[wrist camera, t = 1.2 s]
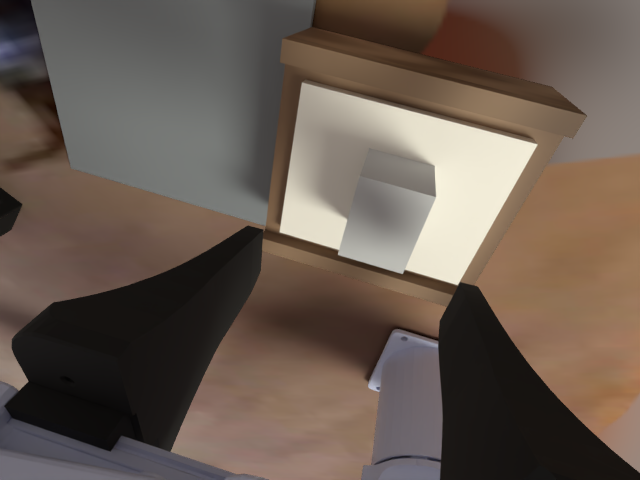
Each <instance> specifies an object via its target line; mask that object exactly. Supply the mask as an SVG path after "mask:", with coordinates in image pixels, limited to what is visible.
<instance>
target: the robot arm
mask: <svg viewBox="0 0 640 480" xmlns="http://www.w3.org/2000/svg"><path fill="white" fill-rule="evenodd" d="M262 244H263V229H259V228H255V227H251V226H246V227H245V228H243V229H241V230H240V231H238V232H237V233H235V234H233V235H232V236H230V237H229V238H227V239H226V240H224V241H222V242H221V243H219V244H218V245H216V246H214V247H213V248H211V249H209V250H208V251H206V252H204V253H202V254H201V255H199V256H197V257H195V258H193V259H191V260H189V261H187V262H186V263H184V264H182V265H180V266H177V267H175V268H173V269H171V270H168V271H166V272H164V273H161V274H159V275H156V276H154V277H151V278H148V279H145V280H142V281H139V282H136V283H134V284H131V285H128V286H124V287H121V288H117V289H114V290H110V291H106V292H103V293H99V294H94V295H90V296H85V297H80V298H75V299H70V300H65V301H60V302H54V303H52V304H51V305H50V306H48V307H47V308H46V309H45V310H44V311H42V312H41V313H40V314H39V315H38V316H37V317H35V318H34V319H33V320H32V321H31V322H30V323H28V324H27V325H26V326H25V327H24V328H23V329H21V330H20V331H19V332H18V333H17V334H16V335H15V336H14V337H13V338H12V350H13V353H14V355H15V357H16V359H17V361H18V363H19V364H20V366H21V368H22V370H23V372H24V373H25V375H26V377H27V379H28V381H29V382H28V383H27V384H26V385H25V386H24V387H23V388H22V389H21V390H20V391H18V390H17V389H16V388H15V387H13V386H12V385H9V384H7V383H5V382H2V381H0V480H268V479H265V478H262V477H257V476H253V475H248V474H234V473H231V472H228V471H225V470H223V469H220V468H217V467H214V466H211V465H208V464H205V463H202V462H199V461H196V460H193V459H190V458H187V457H184V456H181V455H178V454H175V453H172V452H170V451H171V449H172V447H173V444H174V442H175V439H176V437H177V435H178V432H179V430H180V427H181V425H182V423H183V420H184V418H185V416H186V414H187V411H188V409H189V407H190V405H191V402H192V400H193V398H194V396H195V393H196V391H197V389H198V387H199V385H200V383H201V380H202V378H203V376H204V374H205V372H206V370H207V368H208V366H209V364H210V362H211V360H212V357H213V355H214V353H215V351H216V349H217V348H218V346H219V344H220V342H221V341H222V339H223V337H224V336H225V334H226V332H227V331H228V329H229V328H230V326H231V324H232V323H233V321H234V320H235V318H236V316H237V315H238V313H239V312H240V310H241V308H242V307H243V305H244V304H245V302H246V300H247V299H248V297H249V295H250V294H251V291H252V289H253V287H254V285H255V283H256V281H257V278H258V276H259V274H260V271H261V257H262ZM368 387H369V388H370V389H372V390H375V391H378V392H379V401H378V410H377V418H376V427H375V436H374V445H373V454H372V463H371V465H364V466H363V471H362V478H361V480H640V473H639V472H638V471H637V470H635V469H634V468H633V467H632V466H630V465H629V464H628V463H627V462H625V461H624V460H623V459H622V458H621V457H619V456H618V455H617V454H616V453H615V452H614V451H612V450H611V449H610V448H609V447H608V446H607V445H606V444H605V443H603V442H602V441H601V440H600V439H599V438H598V437H597V436H596V435H595V434H594V433H592V432H591V431H590V430H589V429H588V428H587V427H586V426H585V425H584V424H583V423H582V422H581V421H580V420H579V419H578V418H577V417H576V416H575V415H574V414H573V413H572V412H571V411H570V410H569V409H568V408H567V407H566V406H565V405H564V404H563V403H562V402H561V401H560V400H559V399H558V398H557V397H556V395H555V394H554V393H553V392H552V391H551V390H550V389H549V388H548V386H547V385H546V384H545V383H544V382H543V381H542V379H541V378H540V377H539V376H538V375H537V373H536V372H535V371H534V370H533V369H532V367H531V366H530V365H529V364H528V362H527V361H526V360H525V358H524V357H523V355H522V354H521V353H520V351H519V350H518V349H517V347H516V346H515V345H514V343H513V342H512V340H511V339H510V337H509V336H508V334H507V333H506V331H505V330H504V328H503V327H502V325H501V324H500V322H499V320H498V319H497V317H496V316H495V314H494V312H493V311H492V309H491V307H490V306H489V304H488V302H487V301H486V299H485V297H484V296H483V294H482V292H481V291H480V289H479V288H478V287H477V286H474V285H470V284H466V283H462V282H460V283H459V285H458V287H457V289H456V291H455V293H454V295H453V297H452V299H451V301H450V303H449V304H448V306H447V308H446V310H445V312H444V314H443V316H442V318H441V320H440V326H439V341H436V340H433V339H429V338H426V337H423V336H420V335H417V334H413V333H410V332H407V331H404V330H400V329H395V330H393V331H392V333H391V335H390V337H389V339H388V341H387V343H386V346H385V348H384V350H383V352H382V354H381V356H380V358H379V360H378V363H377V365H376V367H375V369H374V371H373V373H372V375H371V377H370V380H369V382H368Z"/></svg>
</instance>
